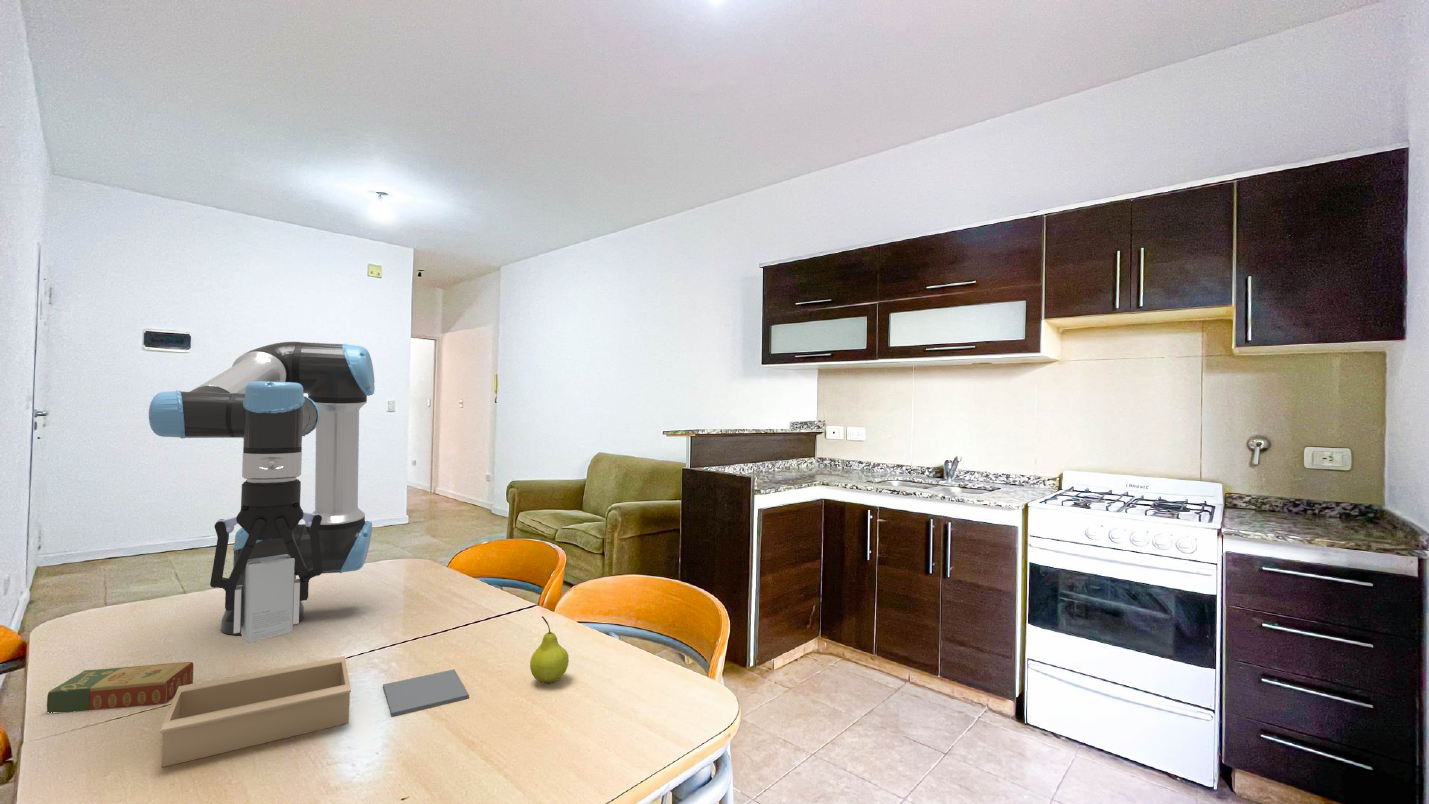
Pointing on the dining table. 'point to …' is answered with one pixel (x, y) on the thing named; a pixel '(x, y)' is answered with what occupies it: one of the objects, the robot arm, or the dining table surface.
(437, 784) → the dining table surface
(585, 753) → the dining table surface
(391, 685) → the mat
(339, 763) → the dining table surface
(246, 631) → the skincare box
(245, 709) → the tray
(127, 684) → the carton
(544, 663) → the fruit
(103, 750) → the dining table surface
